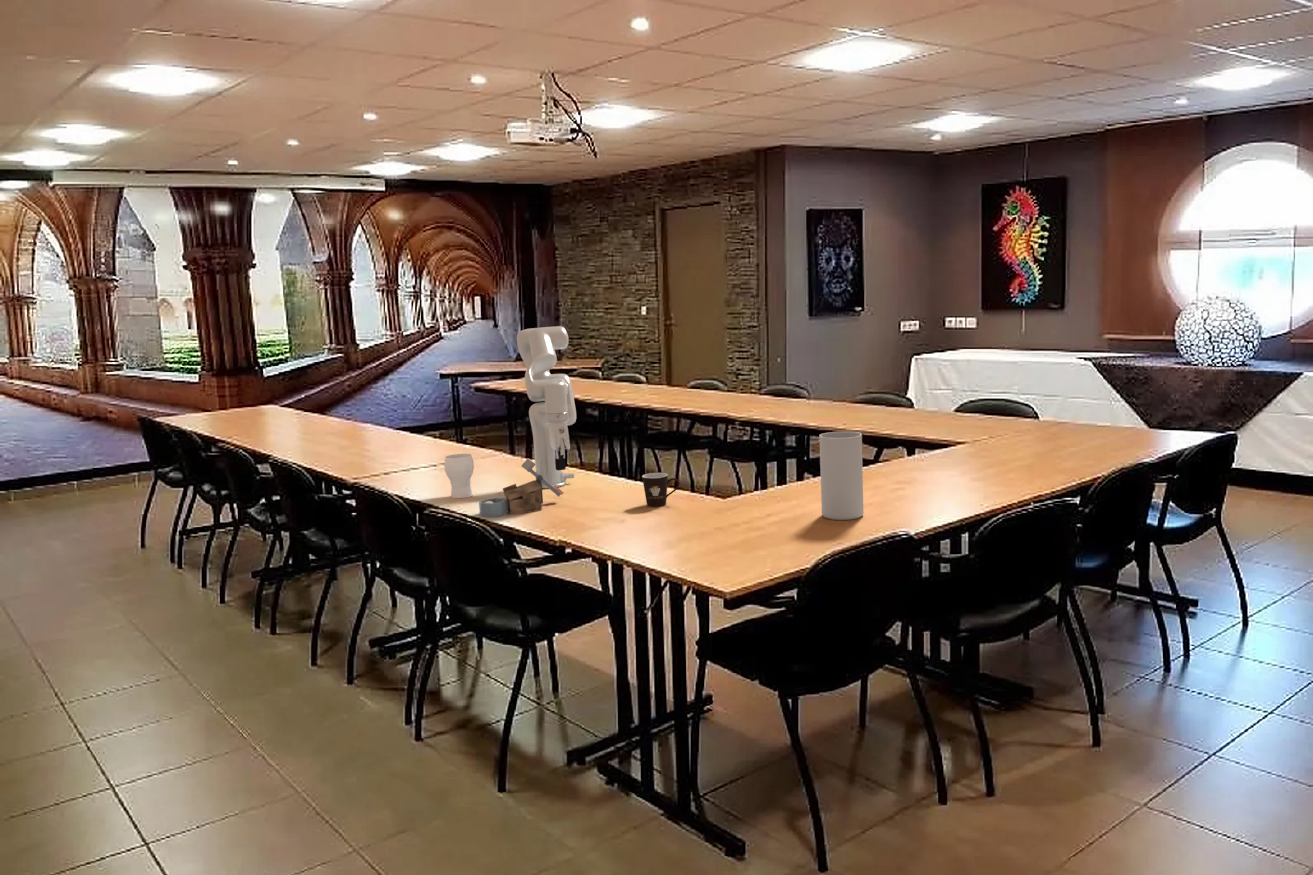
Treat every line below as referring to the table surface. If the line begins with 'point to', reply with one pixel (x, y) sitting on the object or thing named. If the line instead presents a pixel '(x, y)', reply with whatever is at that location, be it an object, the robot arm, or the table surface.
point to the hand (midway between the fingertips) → (560, 469)
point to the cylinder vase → (841, 475)
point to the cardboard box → (524, 497)
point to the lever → (540, 477)
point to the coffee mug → (657, 488)
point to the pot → (493, 507)
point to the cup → (459, 474)
